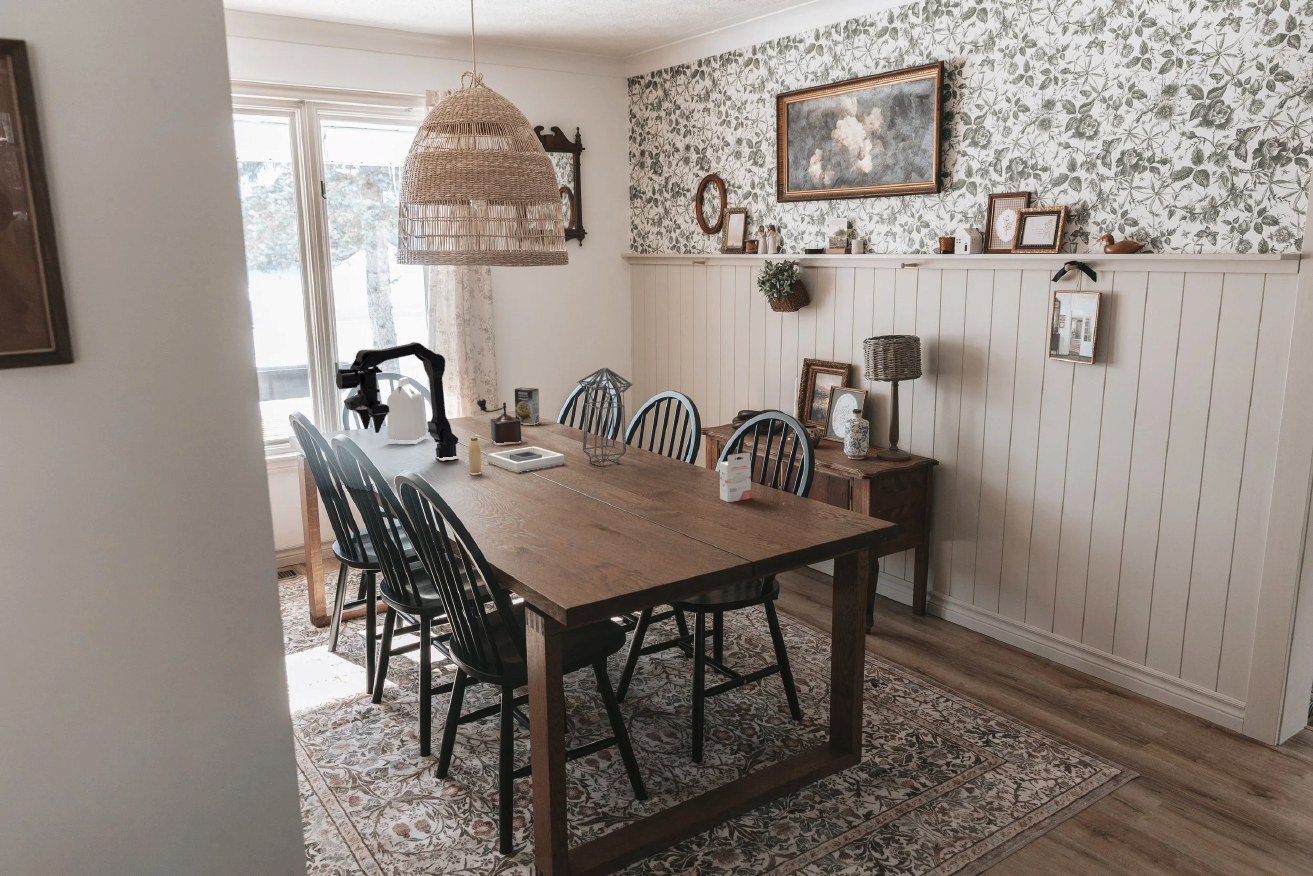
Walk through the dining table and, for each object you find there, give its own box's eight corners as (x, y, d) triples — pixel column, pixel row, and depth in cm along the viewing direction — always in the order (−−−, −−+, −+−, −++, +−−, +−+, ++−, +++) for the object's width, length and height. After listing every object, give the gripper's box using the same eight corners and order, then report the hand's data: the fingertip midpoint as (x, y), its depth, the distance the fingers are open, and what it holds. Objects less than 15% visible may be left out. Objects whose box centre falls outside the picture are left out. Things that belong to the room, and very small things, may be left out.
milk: (400, 438, 377) (395, 376, 372) (426, 438, 376) (422, 376, 370) (387, 444, 366) (383, 380, 360) (415, 444, 364) (410, 380, 359)
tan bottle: (478, 471, 318) (476, 436, 315) (483, 473, 315) (482, 438, 312) (467, 473, 316) (466, 438, 313) (473, 475, 312) (471, 440, 310)
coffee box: (515, 424, 404) (513, 389, 401) (522, 422, 410) (521, 386, 407) (533, 426, 401) (531, 390, 397) (540, 423, 406) (539, 387, 403)
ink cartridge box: (742, 495, 285) (742, 449, 282) (751, 499, 280) (751, 452, 277) (719, 498, 281) (719, 452, 278) (727, 502, 276) (727, 455, 273)
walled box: (534, 455, 343) (534, 446, 342) (564, 464, 328) (564, 454, 327) (487, 463, 330) (487, 454, 330) (516, 473, 315) (516, 463, 315)
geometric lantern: (611, 456, 340) (612, 363, 332) (634, 465, 327) (635, 369, 319) (574, 461, 331) (574, 366, 324) (595, 471, 318) (596, 372, 311)
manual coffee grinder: (515, 438, 374) (513, 395, 370) (522, 443, 364) (520, 399, 360) (477, 442, 368) (475, 398, 364) (483, 447, 358) (481, 402, 354)
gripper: (335, 386, 315) (338, 430, 318) (356, 391, 301) (360, 437, 304) (365, 382, 322) (369, 426, 325) (388, 388, 308) (391, 433, 312)
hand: (371, 430), depth 317 cm, fingers open, 9 cm apart
